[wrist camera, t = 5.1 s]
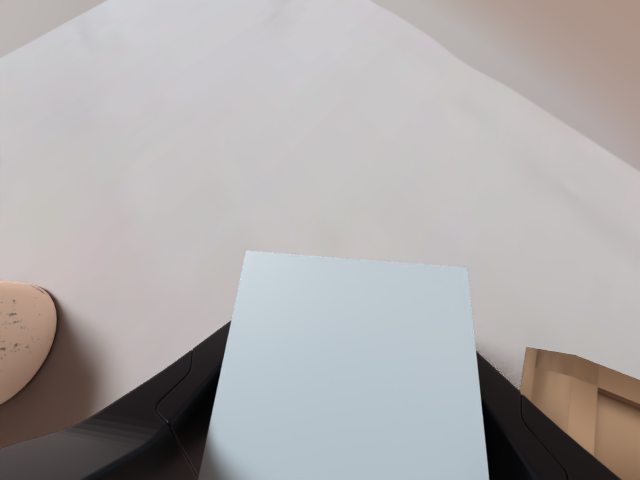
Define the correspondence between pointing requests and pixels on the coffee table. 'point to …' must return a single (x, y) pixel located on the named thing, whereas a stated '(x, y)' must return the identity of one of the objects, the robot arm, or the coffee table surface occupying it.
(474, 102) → the coffee table surface
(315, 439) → the tall block
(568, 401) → the tray
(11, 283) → the teacup with lid
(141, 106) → the coffee table surface
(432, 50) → the coffee table surface
